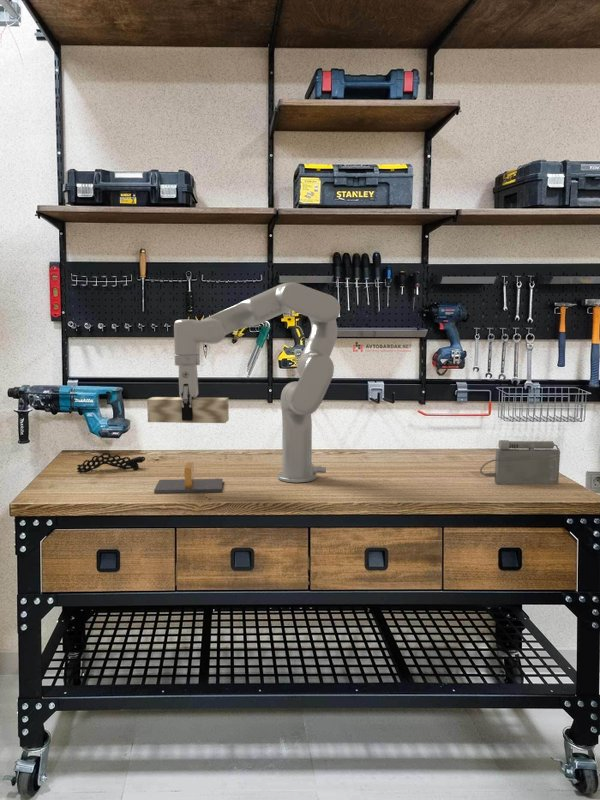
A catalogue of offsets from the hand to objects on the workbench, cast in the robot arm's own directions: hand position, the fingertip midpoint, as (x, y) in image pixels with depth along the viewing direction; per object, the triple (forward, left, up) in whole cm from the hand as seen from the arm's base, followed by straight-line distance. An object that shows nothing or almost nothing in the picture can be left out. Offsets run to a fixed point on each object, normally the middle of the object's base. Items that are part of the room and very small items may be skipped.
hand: (188, 418), depth 209 cm
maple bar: (0, 0, -1) cm, 1 cm away
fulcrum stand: (0, +2, -22) cm, 22 cm away
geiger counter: (-104, +4, -22) cm, 106 cm away
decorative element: (+29, -22, -22) cm, 42 cm away
